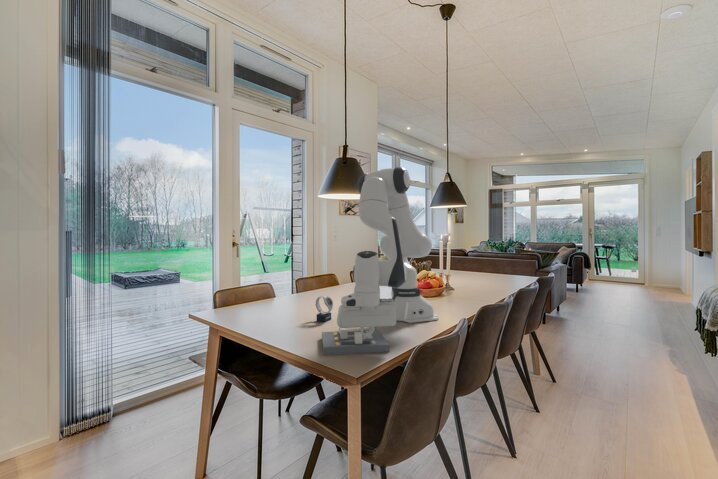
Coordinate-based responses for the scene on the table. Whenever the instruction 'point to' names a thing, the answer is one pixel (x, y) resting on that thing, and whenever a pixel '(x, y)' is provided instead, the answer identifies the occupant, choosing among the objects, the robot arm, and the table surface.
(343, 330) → the breaker handle middle
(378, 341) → the breaker panel
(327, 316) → the watch
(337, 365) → the table surface
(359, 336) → the breaker handle
